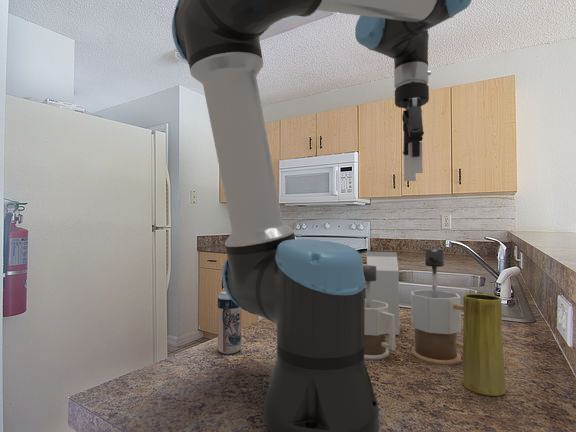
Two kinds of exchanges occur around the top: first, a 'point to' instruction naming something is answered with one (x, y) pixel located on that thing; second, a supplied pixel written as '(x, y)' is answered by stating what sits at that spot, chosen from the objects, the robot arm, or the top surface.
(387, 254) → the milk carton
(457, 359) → the press copper
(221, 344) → the beer can
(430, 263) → the plunger
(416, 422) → the top surface
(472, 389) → the vase
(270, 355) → the top surface
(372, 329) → the press cream
